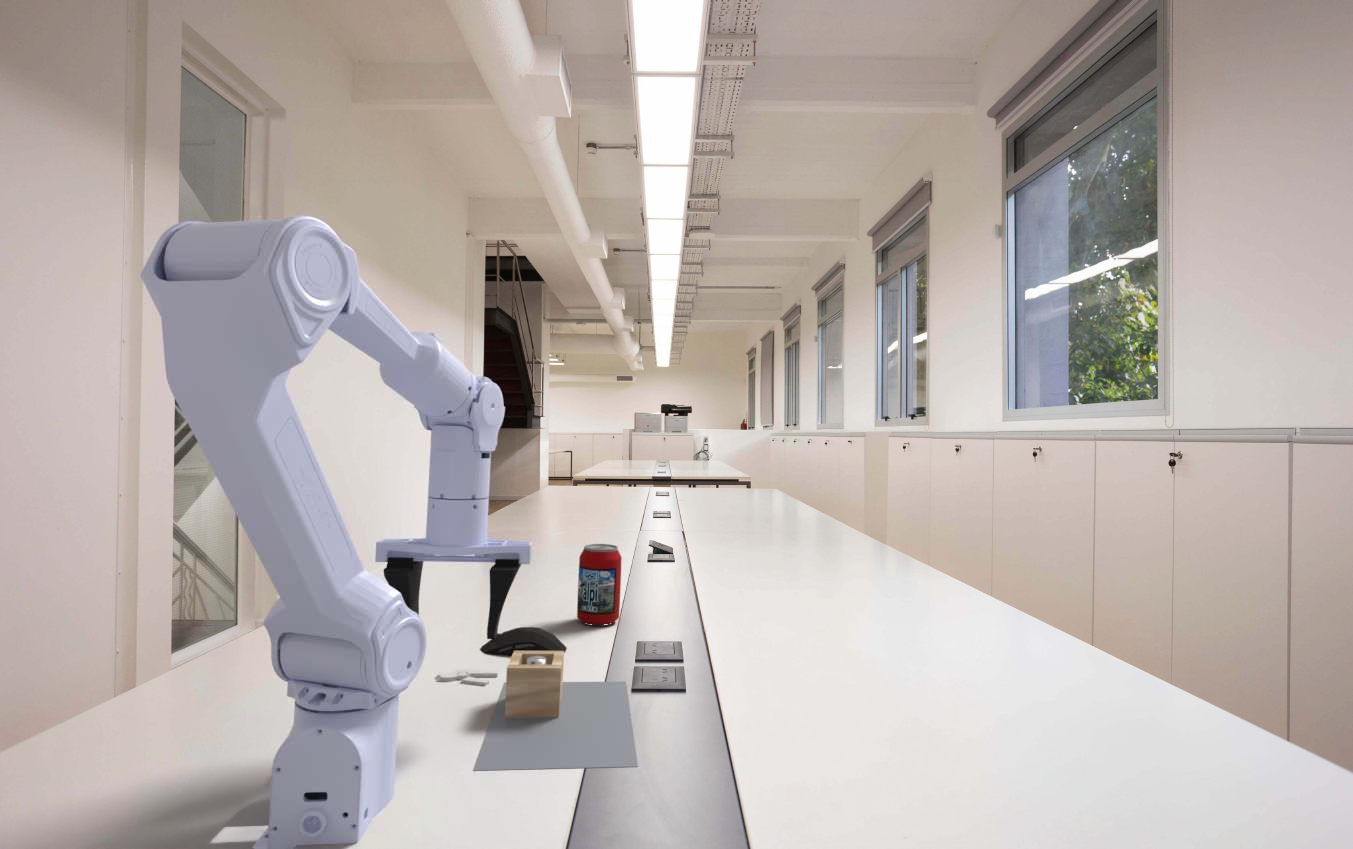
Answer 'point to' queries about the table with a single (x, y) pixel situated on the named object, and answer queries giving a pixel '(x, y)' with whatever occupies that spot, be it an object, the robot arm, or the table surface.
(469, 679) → the pliers
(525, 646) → the gaming mouse
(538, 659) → the steel post
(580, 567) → the beverage can
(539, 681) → the birch collar
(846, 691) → the table surface
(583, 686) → the slate board
